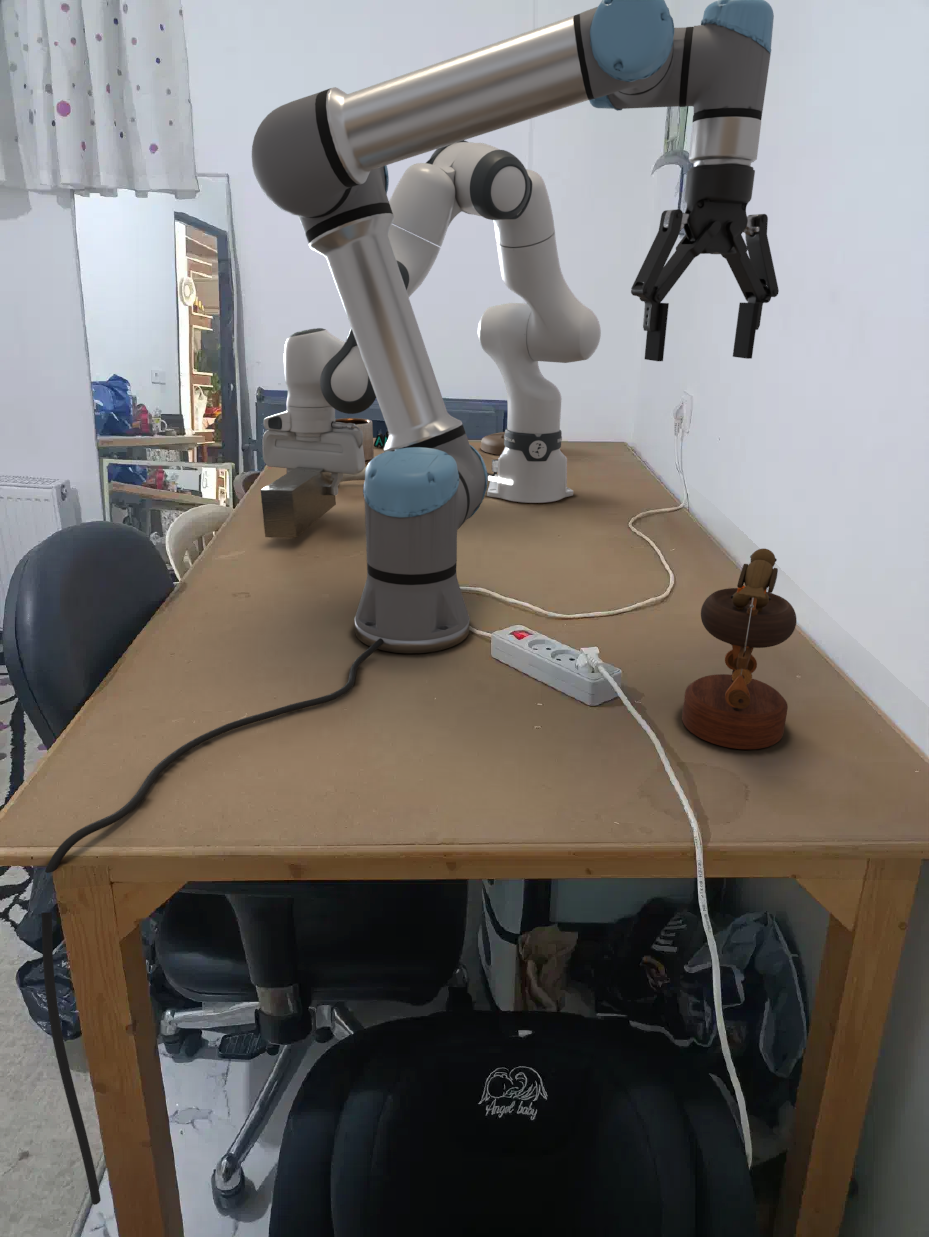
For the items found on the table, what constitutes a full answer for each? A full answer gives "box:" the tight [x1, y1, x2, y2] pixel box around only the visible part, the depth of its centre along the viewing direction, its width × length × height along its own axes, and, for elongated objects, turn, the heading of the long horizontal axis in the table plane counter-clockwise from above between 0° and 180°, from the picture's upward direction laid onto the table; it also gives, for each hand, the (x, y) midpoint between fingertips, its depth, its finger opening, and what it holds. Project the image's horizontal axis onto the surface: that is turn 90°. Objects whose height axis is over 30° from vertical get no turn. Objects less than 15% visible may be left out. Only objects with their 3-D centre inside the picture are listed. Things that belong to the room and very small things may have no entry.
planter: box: [335, 417, 375, 463], centre depth 212 cm, size 11×11×10 cm
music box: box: [681, 548, 797, 750], centre depth 88 cm, size 15×11×20 cm
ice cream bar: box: [480, 431, 505, 456], centre depth 223 cm, size 21×28×4 cm
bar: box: [260, 467, 337, 539], centre depth 155 cm, size 24×6×8 cm, turn 171°
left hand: (698, 359), depth 105 cm, fingers open, 13 cm apart
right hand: (315, 493), depth 163 cm, fingers closed on bar, 6 cm apart
